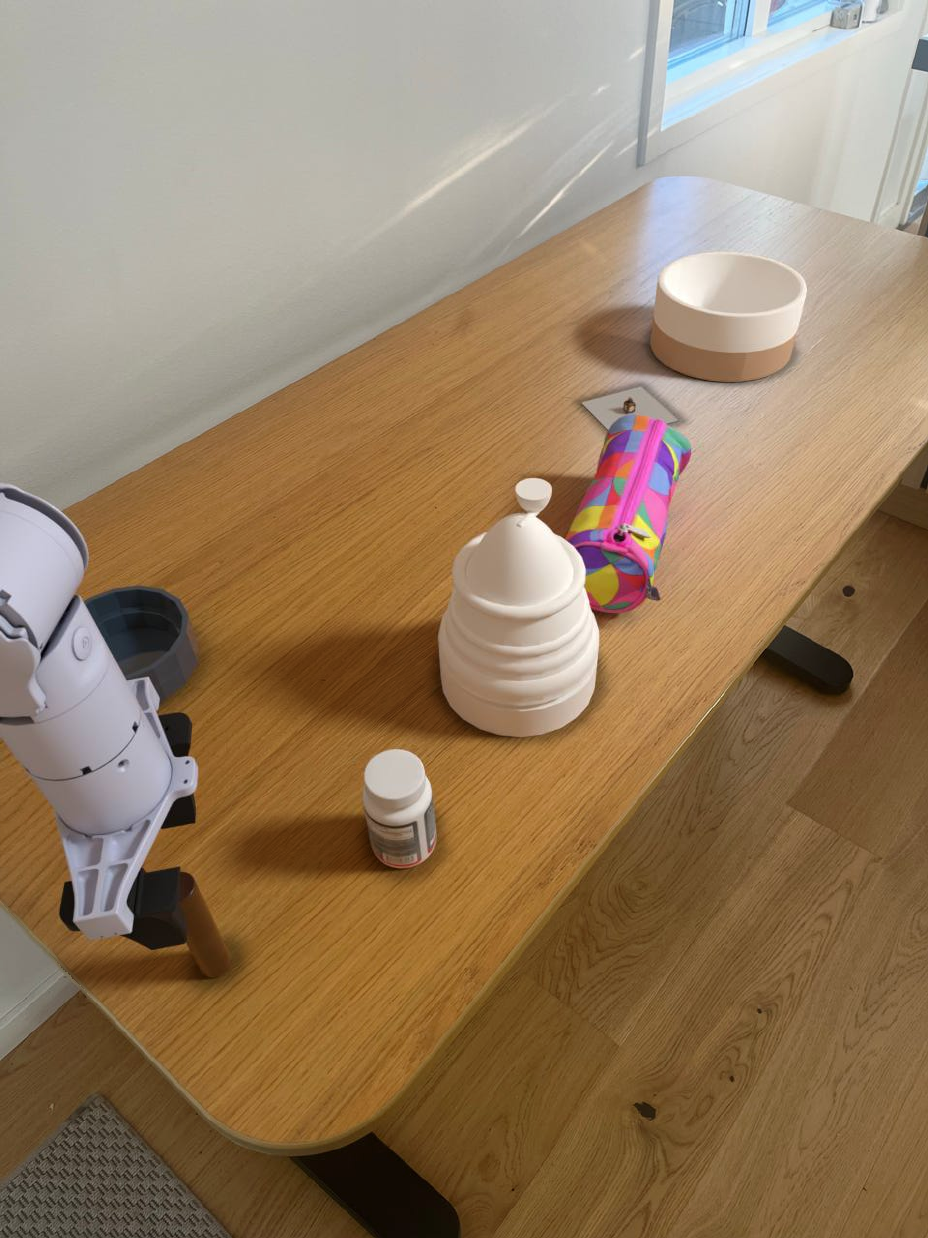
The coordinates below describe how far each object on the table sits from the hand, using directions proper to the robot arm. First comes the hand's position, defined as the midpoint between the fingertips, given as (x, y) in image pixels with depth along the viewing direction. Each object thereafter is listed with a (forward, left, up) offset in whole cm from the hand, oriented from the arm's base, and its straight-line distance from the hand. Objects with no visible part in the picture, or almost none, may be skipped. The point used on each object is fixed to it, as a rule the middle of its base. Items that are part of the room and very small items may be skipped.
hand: (174, 878), depth 52 cm
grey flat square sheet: (+44, +58, -11) cm, 73 cm away
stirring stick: (0, 0, -10) cm, 10 cm away
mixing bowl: (-8, +27, -10) cm, 30 cm away
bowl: (+59, +70, -11) cm, 92 cm away
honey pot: (+24, +21, -11) cm, 33 cm away
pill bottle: (+13, +7, -11) cm, 18 cm away
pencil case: (+37, +35, -11) cm, 52 cm away
